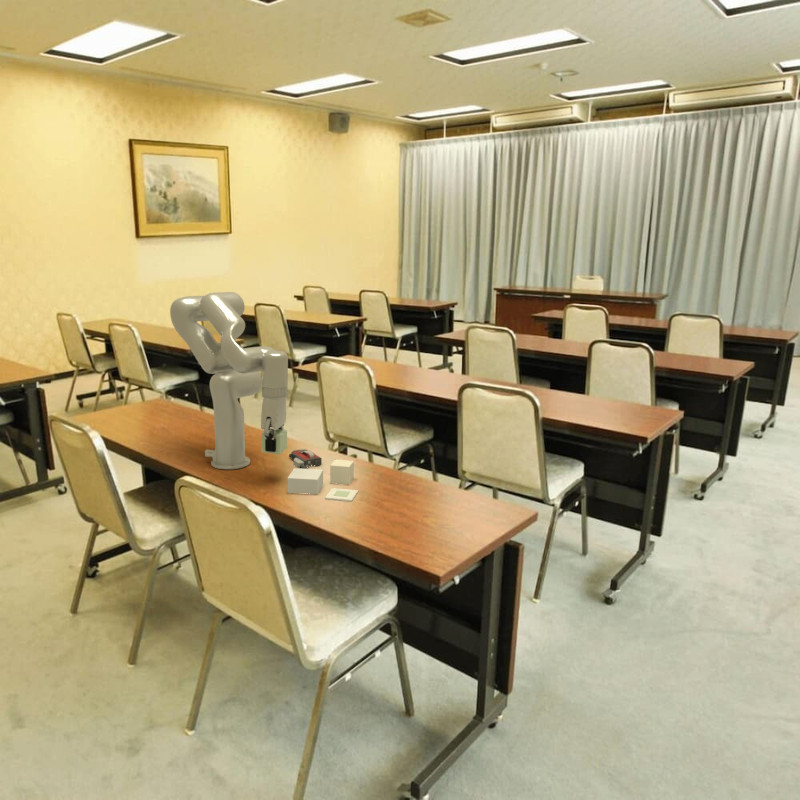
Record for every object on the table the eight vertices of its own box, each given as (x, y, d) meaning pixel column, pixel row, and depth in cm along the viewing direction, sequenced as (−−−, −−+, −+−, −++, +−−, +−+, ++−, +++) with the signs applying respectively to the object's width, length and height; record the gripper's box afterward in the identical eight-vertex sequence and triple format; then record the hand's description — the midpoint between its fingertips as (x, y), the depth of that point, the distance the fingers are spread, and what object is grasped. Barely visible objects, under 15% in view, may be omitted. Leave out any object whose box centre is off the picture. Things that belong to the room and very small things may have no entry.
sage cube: (261, 452, 201) (261, 433, 199) (268, 446, 206) (268, 428, 205) (280, 454, 200) (280, 435, 198) (286, 448, 206) (287, 430, 204)
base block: (287, 494, 194) (287, 478, 193) (294, 483, 203) (294, 468, 202) (317, 495, 194) (317, 479, 192) (323, 484, 202) (323, 469, 201)
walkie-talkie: (283, 459, 226) (308, 477, 210) (283, 447, 225) (308, 463, 209) (306, 455, 231) (333, 472, 214) (306, 443, 230) (333, 459, 213)
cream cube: (330, 483, 203) (330, 465, 202) (335, 477, 209) (335, 459, 207) (349, 485, 202) (349, 466, 201) (353, 478, 208) (353, 460, 207)
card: (324, 499, 190) (324, 497, 190) (332, 489, 198) (332, 487, 198) (351, 501, 189) (351, 499, 189) (358, 491, 197) (358, 489, 197)
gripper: (273, 384, 207) (272, 438, 212) (252, 397, 191) (252, 455, 195) (295, 386, 206) (294, 441, 211) (276, 399, 190) (276, 458, 194)
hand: (274, 447), depth 203 cm, fingers closed on sage cube, 6 cm apart
